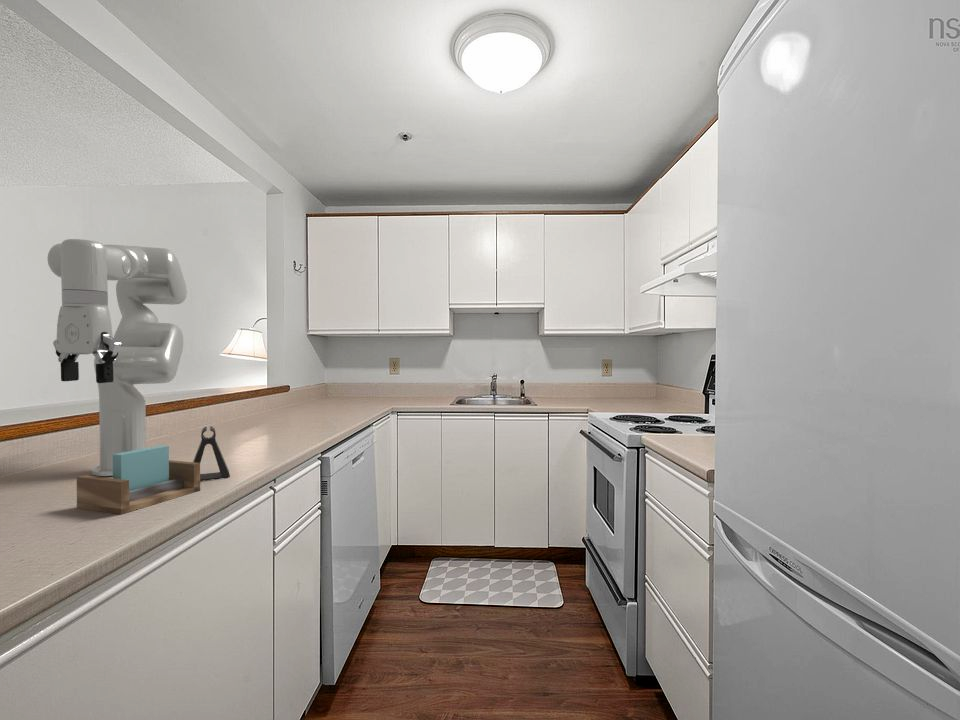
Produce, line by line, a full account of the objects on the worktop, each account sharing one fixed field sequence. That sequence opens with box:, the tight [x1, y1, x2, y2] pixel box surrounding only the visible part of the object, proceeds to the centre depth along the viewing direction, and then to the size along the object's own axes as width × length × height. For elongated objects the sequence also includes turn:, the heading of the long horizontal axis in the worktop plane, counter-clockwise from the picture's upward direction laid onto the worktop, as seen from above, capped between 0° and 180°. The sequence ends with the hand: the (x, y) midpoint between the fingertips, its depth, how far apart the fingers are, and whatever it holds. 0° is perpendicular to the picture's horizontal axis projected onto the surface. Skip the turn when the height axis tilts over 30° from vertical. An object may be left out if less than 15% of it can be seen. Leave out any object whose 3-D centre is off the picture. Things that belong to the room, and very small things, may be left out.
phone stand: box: [192, 426, 231, 482], centre depth 118 cm, size 9×6×12 cm, turn 119°
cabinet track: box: [76, 459, 201, 515], centre depth 100 cm, size 17×12×6 cm
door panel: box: [112, 444, 170, 491], centre depth 101 cm, size 10×2×9 cm, turn 161°
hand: (87, 381), depth 103 cm, fingers open, 9 cm apart
